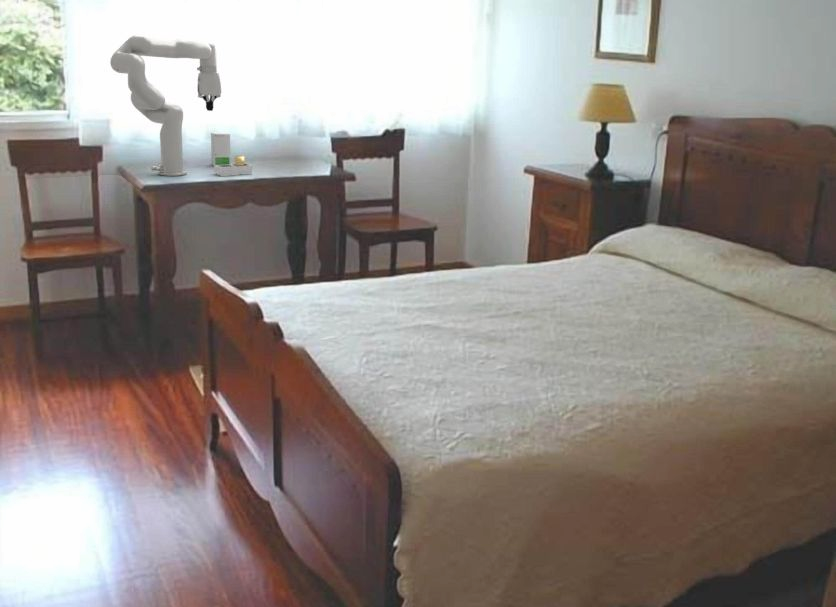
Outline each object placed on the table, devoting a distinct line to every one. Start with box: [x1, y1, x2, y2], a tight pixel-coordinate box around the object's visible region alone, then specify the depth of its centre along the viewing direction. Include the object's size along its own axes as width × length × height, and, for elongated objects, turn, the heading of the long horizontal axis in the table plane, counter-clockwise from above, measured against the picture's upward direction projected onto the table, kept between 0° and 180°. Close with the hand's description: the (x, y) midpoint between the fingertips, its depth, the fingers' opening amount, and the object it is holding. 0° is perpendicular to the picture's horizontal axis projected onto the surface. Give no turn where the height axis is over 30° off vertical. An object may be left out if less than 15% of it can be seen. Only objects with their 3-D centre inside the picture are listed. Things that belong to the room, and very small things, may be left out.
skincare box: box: [210, 132, 231, 167], centre depth 449 cm, size 8×7×16 cm
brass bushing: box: [234, 155, 246, 166], centre depth 428 cm, size 4×4×8 cm
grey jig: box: [213, 163, 253, 177], centre depth 426 cm, size 15×8×4 cm, turn 124°
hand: (209, 110), depth 433 cm, fingers closed
